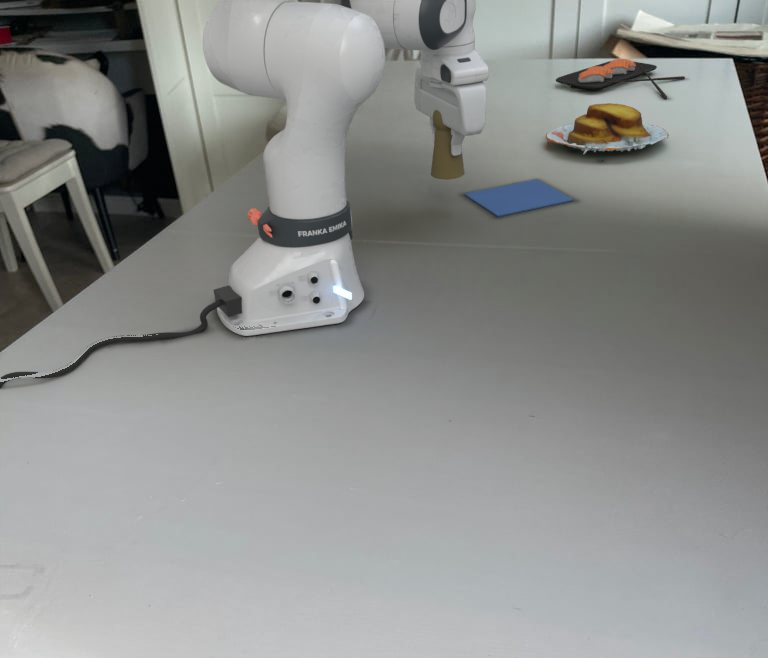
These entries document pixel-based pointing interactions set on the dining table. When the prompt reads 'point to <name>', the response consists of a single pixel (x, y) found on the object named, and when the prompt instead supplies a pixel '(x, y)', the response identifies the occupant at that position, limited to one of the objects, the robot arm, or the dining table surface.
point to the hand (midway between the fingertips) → (447, 149)
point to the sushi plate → (611, 75)
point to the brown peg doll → (444, 153)
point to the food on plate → (608, 130)
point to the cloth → (518, 197)
